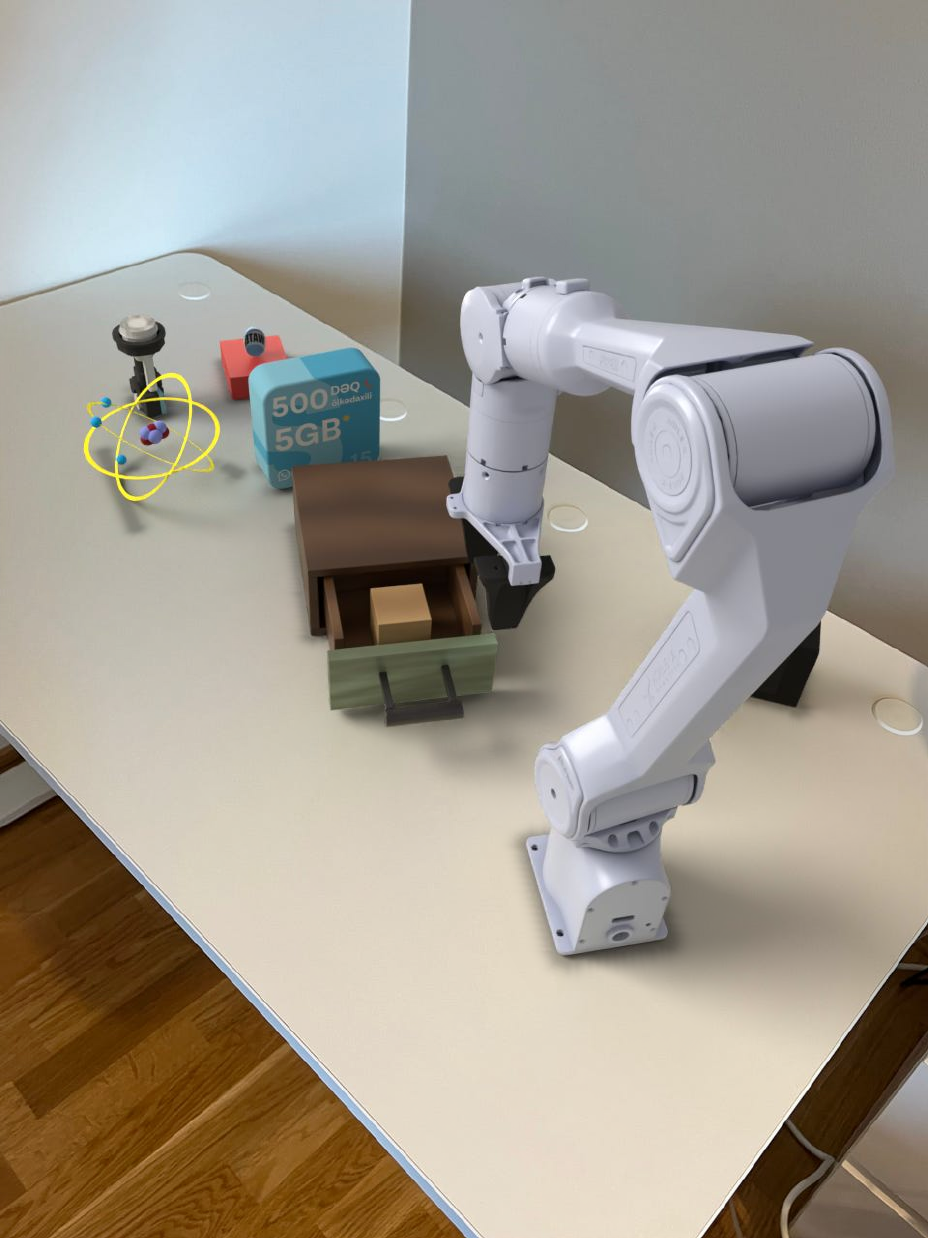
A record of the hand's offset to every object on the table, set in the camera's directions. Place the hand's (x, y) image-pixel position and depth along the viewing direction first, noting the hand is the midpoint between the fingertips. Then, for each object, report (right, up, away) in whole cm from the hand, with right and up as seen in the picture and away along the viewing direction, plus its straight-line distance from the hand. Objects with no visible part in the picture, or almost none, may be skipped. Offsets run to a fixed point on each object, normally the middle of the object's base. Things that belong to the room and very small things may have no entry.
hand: (492, 592), depth 84 cm
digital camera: (+22, -7, +10) cm, 25 cm away
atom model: (-33, +12, +24) cm, 43 cm away
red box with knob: (-26, +25, +39) cm, 53 cm away
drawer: (-7, -6, +7) cm, 12 cm away
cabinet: (-10, +2, +16) cm, 19 cm away
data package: (-17, +13, +27) cm, 35 cm away
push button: (-37, +21, +34) cm, 54 cm away
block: (-8, -4, +7) cm, 11 cm away
